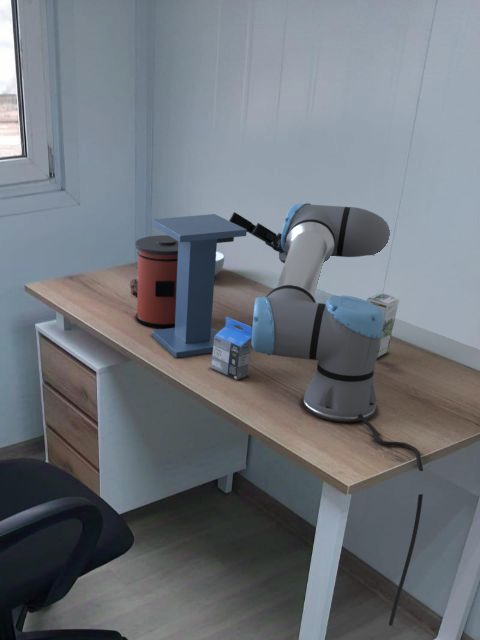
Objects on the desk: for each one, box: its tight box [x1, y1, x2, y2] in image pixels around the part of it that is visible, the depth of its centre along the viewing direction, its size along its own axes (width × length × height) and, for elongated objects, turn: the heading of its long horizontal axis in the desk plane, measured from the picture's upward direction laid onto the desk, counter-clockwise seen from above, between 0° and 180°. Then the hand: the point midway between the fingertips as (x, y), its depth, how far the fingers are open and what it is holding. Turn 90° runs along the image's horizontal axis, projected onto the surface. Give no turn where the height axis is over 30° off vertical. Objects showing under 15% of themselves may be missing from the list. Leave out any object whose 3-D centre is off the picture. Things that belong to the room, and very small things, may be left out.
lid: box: [135, 234, 235, 255], centre depth 198 cm, size 28×16×2 cm, turn 110°
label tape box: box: [210, 316, 252, 380], centre depth 173 cm, size 9×4×12 cm, turn 37°
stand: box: [151, 213, 248, 359], centre depth 185 cm, size 17×17×30 cm
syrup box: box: [366, 293, 400, 360], centre depth 183 cm, size 6×6×14 cm
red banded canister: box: [135, 249, 178, 330], centre depth 202 cm, size 16×16×20 cm
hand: (243, 222), depth 201 cm, fingers open, 13 cm apart
